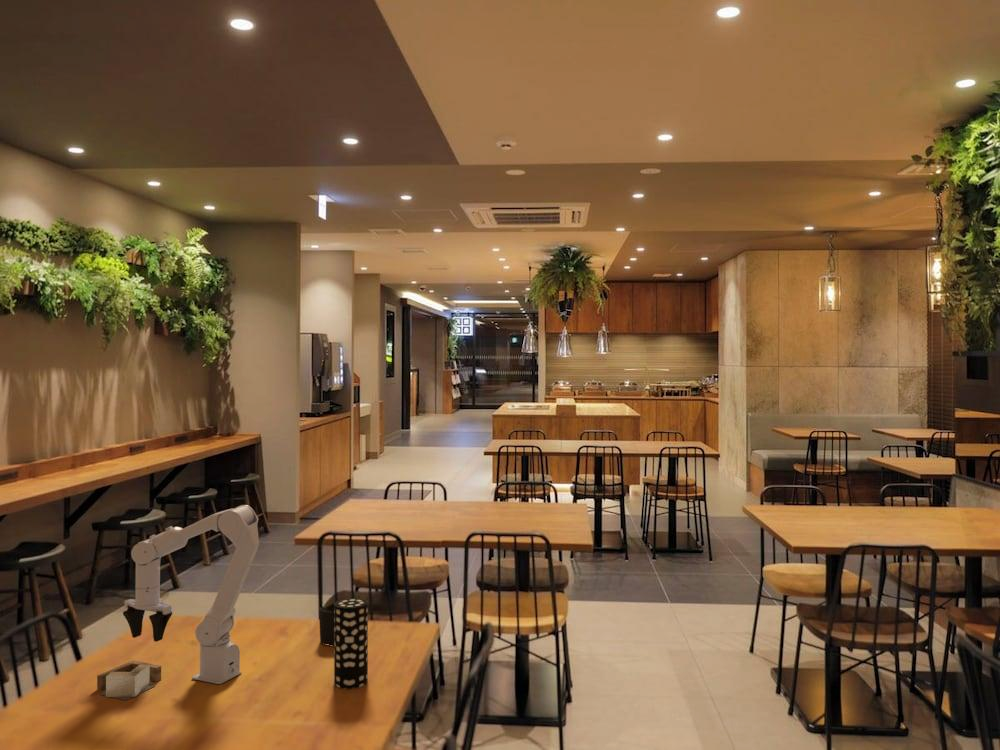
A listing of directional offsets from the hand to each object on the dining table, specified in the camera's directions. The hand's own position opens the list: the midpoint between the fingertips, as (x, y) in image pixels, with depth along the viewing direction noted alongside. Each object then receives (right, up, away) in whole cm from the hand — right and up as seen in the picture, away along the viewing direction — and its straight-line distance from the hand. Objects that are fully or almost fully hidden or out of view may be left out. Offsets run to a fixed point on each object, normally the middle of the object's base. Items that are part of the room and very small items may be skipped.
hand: (147, 638), depth 185 cm
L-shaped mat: (0, -9, -10) cm, 14 cm away
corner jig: (-1, -9, -6) cm, 11 cm away
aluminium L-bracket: (0, -9, -10) cm, 14 cm away
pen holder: (+43, -10, +24) cm, 51 cm away
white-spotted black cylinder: (+54, -9, -5) cm, 55 cm away
